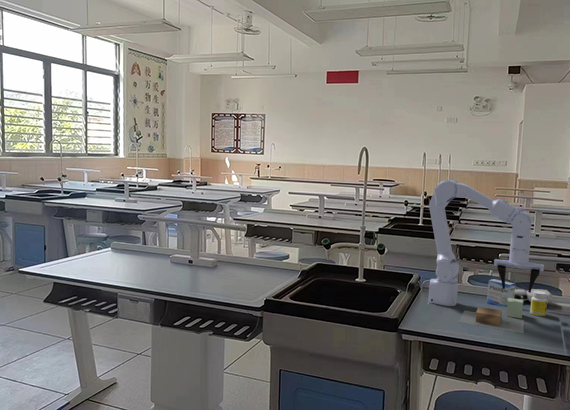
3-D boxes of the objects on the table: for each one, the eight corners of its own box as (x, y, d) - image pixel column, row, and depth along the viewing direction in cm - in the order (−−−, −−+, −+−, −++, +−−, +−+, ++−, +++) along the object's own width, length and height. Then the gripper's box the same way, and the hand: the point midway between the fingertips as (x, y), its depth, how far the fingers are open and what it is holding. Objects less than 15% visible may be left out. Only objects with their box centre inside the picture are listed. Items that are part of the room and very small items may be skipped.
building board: (458, 325, 153) (458, 322, 152) (464, 313, 165) (464, 310, 165) (523, 336, 144) (523, 333, 144) (523, 323, 157) (524, 320, 157)
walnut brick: (475, 321, 154) (476, 312, 153) (477, 315, 160) (478, 306, 159) (499, 325, 150) (500, 316, 150) (501, 319, 157) (502, 310, 156)
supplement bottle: (547, 320, 161) (550, 294, 160) (532, 318, 162) (534, 293, 161) (543, 315, 166) (545, 291, 165) (528, 314, 167) (530, 289, 166)
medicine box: (486, 303, 178) (488, 280, 177) (492, 301, 181) (493, 278, 180) (508, 309, 172) (510, 284, 171) (513, 306, 175) (515, 282, 174)
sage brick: (506, 319, 161) (507, 301, 160) (506, 315, 165) (508, 297, 164) (521, 321, 159) (522, 303, 158) (521, 317, 163) (523, 300, 162)
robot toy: (507, 306, 179) (554, 308, 174) (507, 293, 179) (554, 296, 174) (505, 297, 191) (549, 300, 185) (505, 286, 190) (549, 288, 185)
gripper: (494, 248, 159) (491, 289, 161) (545, 253, 153) (541, 296, 154) (496, 245, 166) (493, 284, 167) (544, 250, 159) (541, 291, 160)
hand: (516, 290), depth 161 cm, fingers open, 7 cm apart
